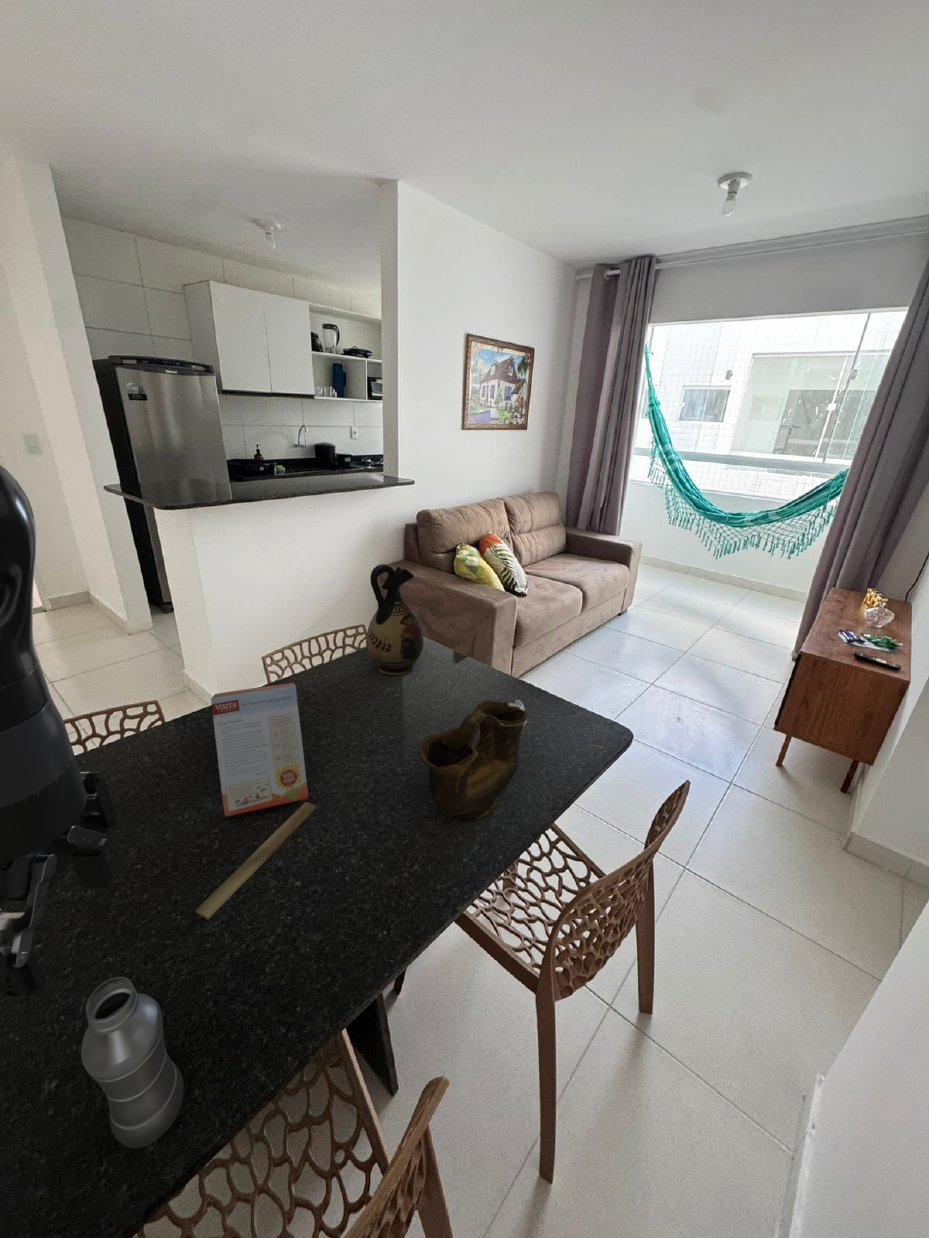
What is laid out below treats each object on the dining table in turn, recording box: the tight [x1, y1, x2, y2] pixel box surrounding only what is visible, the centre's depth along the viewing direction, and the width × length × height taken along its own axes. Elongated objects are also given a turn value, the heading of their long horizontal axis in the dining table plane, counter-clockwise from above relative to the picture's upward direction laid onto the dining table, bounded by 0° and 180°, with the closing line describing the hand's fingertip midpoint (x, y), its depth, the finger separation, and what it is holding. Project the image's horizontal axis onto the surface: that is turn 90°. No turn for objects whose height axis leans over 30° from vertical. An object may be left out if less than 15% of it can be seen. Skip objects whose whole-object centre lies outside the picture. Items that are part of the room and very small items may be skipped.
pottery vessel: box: [417, 699, 529, 823], centre depth 93 cm, size 25×11×20 cm, turn 140°
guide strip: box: [195, 801, 317, 920], centre depth 83 cm, size 2×24×1 cm, turn 156°
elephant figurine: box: [507, 699, 528, 728], centre depth 119 cm, size 7×8×6 cm
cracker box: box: [210, 682, 309, 817], centre depth 92 cm, size 14×6×21 cm, turn 111°
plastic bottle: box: [80, 976, 185, 1149], centre depth 49 cm, size 6×7×20 cm
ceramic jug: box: [365, 563, 424, 676], centre depth 135 cm, size 17×16×30 cm
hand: (66, 932), depth 40 cm, fingers open, 8 cm apart
